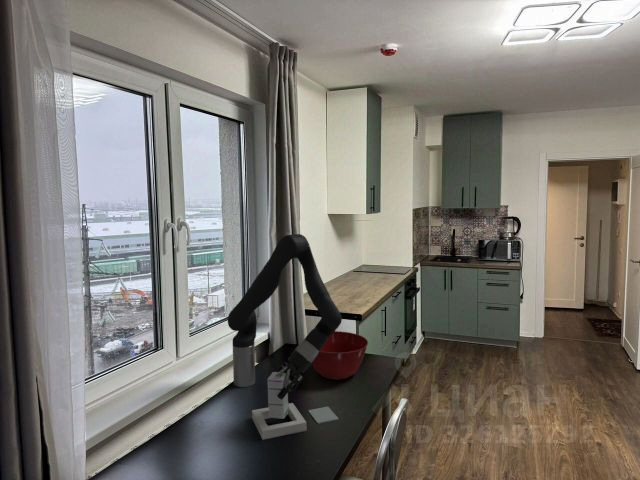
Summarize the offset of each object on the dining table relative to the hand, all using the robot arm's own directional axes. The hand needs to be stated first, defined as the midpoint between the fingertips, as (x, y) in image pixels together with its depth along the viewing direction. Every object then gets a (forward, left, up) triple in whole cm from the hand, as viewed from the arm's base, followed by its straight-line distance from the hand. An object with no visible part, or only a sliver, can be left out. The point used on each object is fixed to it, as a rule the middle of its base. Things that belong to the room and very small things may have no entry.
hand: (274, 393), depth 158 cm
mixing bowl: (-33, +38, -12) cm, 52 cm away
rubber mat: (0, +18, -12) cm, 22 cm away
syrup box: (0, +1, -8) cm, 8 cm away
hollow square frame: (0, +1, -12) cm, 12 cm away
